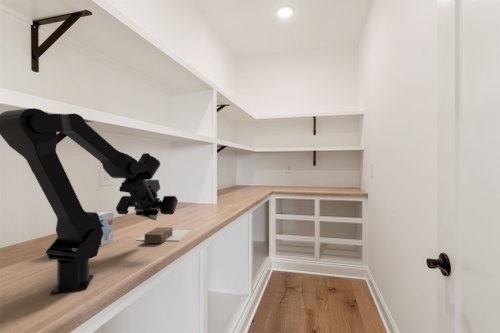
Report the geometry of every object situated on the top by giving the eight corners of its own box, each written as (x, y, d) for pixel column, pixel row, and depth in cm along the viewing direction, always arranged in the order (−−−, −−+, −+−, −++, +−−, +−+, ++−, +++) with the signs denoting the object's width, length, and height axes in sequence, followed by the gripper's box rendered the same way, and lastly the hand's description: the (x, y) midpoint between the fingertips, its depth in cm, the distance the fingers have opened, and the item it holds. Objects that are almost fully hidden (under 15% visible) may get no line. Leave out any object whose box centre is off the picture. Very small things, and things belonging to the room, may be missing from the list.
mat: (179, 241, 88) (179, 240, 88) (135, 240, 88) (135, 239, 88) (191, 231, 102) (191, 230, 102) (153, 230, 102) (153, 230, 102)
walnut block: (161, 234, 84) (172, 227, 94) (144, 234, 85) (157, 227, 95) (161, 243, 84) (172, 235, 94) (144, 243, 85) (157, 235, 95)
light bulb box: (89, 251, 78) (89, 217, 78) (72, 249, 79) (71, 216, 79) (114, 241, 88) (114, 211, 88) (98, 240, 90) (98, 210, 90)
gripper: (175, 171, 81) (186, 200, 92) (120, 172, 82) (137, 200, 93) (166, 198, 73) (179, 226, 84) (105, 198, 74) (126, 226, 85)
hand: (155, 219), depth 86 cm, fingers closed
